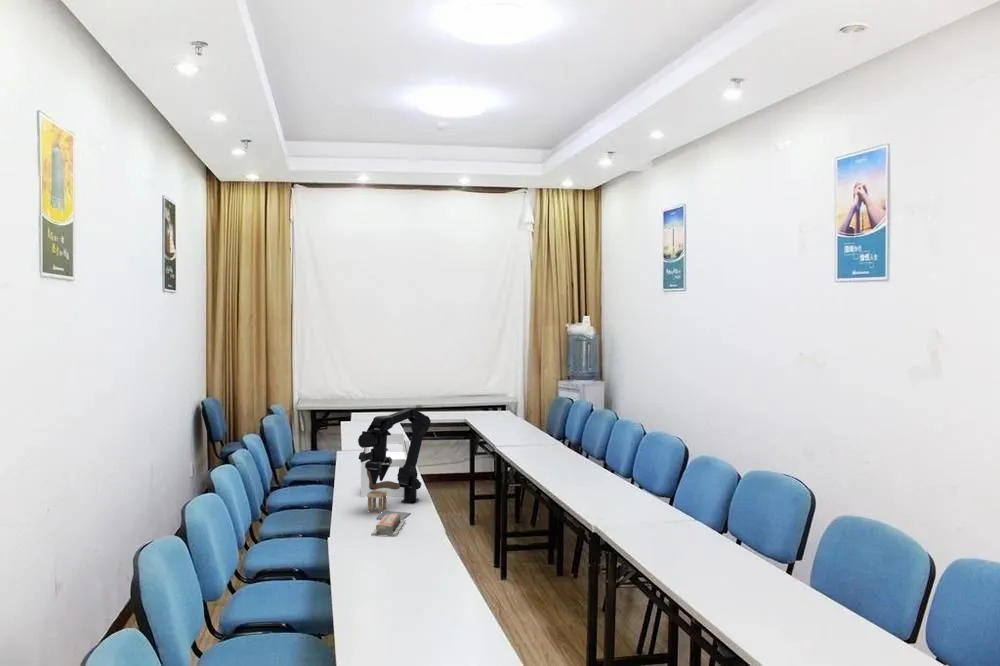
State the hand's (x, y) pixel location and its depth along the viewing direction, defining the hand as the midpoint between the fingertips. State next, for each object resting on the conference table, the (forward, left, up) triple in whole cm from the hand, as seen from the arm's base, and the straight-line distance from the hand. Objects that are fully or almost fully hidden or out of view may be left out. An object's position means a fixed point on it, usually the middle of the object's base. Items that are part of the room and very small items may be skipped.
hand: (377, 482), depth 315 cm
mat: (+6, +10, -12) cm, 17 cm away
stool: (-1, 0, -12) cm, 12 cm away
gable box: (-30, -8, -13) cm, 33 cm away
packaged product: (+22, +14, -13) cm, 30 cm away
